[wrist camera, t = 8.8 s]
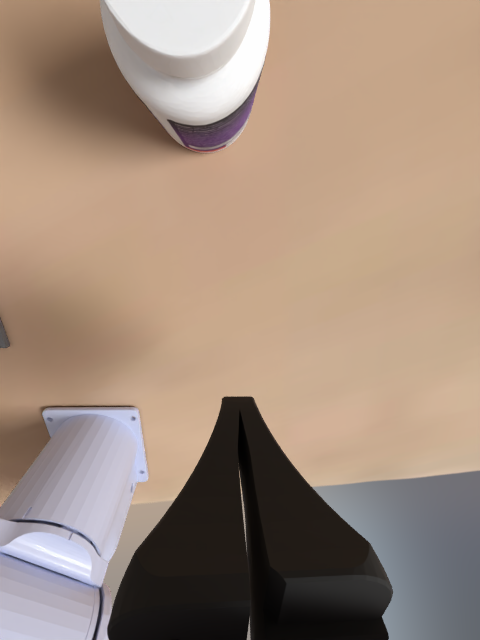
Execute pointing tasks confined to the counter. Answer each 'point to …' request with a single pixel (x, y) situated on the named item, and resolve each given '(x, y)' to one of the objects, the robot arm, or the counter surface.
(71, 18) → the counter surface
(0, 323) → the lane
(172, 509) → the robot arm
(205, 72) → the pill bottle
